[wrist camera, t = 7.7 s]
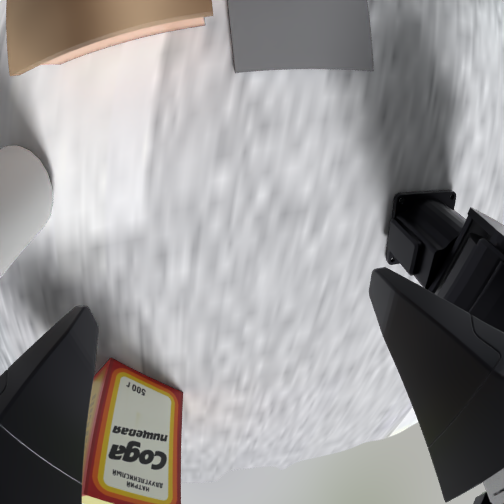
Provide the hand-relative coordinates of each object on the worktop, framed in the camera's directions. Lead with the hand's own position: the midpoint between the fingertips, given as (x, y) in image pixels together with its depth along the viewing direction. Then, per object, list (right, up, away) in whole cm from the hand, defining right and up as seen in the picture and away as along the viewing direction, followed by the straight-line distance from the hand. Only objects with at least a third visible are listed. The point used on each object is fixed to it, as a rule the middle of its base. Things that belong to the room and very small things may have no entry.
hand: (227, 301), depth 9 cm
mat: (+4, +18, +5) cm, 19 cm away
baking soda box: (-13, -14, +23) cm, 30 cm away
